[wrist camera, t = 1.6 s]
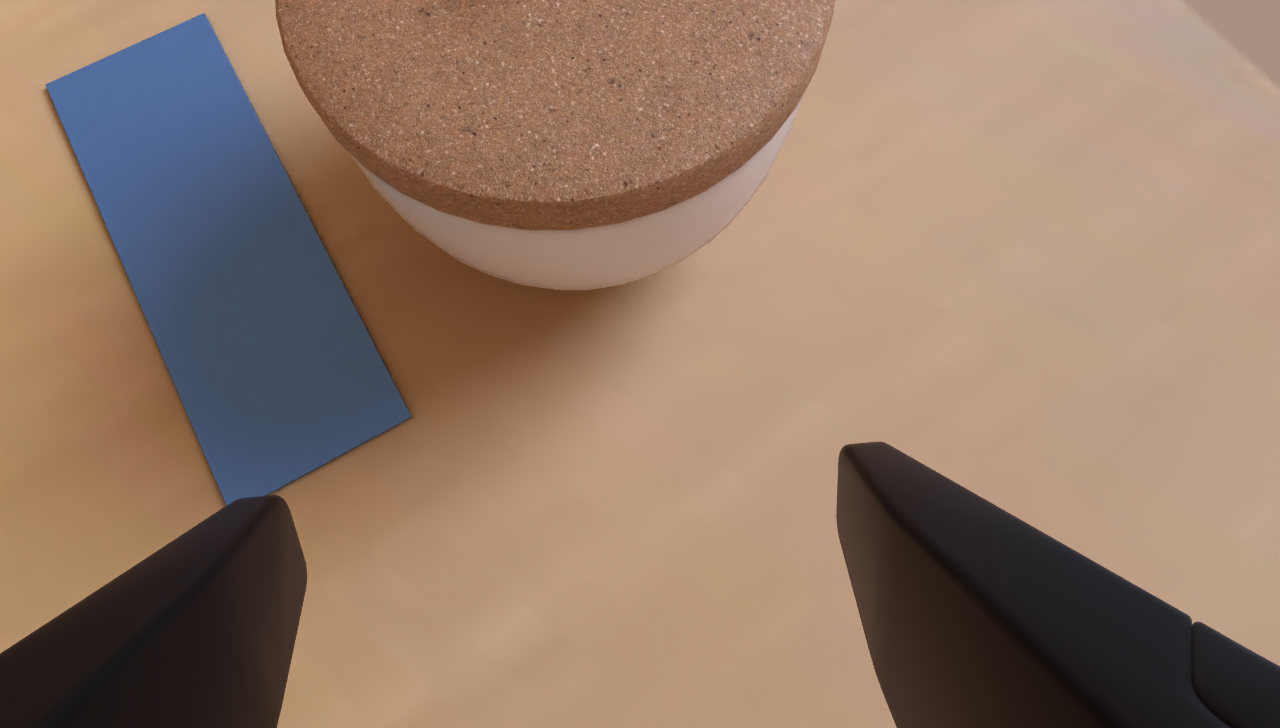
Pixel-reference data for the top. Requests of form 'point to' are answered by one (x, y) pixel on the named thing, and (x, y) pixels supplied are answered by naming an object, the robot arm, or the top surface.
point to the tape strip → (225, 262)
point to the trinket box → (560, 120)
